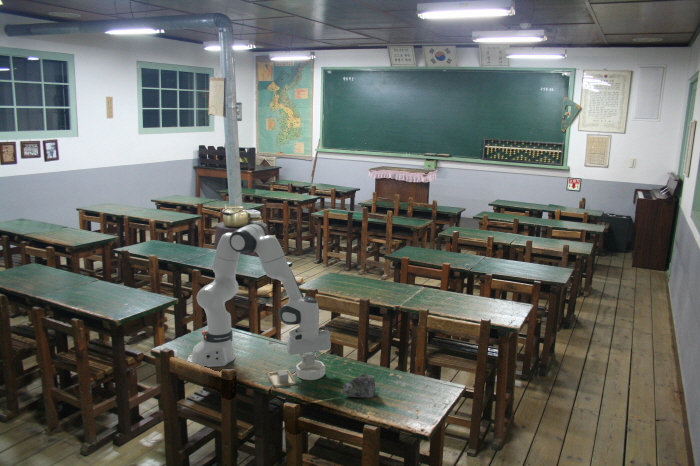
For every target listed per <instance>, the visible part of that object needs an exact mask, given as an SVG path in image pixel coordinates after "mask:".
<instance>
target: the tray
mask: <svg viewBox="0 0 700 466" xmlns="http://www.w3.org/2000/svg"><path fill="white" fill-rule="evenodd" d="M280 371H287V373H288V375H289V383H282V384H279V383H278V381H277V372H280ZM266 375H267V378H268V380H269V381H270V383H271V385H272V388H282V387H287V386H293V385H297V381H296V379H295V378H294V376H293V375H292V372H291V371H290V370H289V369H283V370H277V371H276V370H275V371H270V372H266Z"/></svg>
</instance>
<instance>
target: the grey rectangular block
mask: <svg viewBox="0 0 700 466" xmlns="http://www.w3.org/2000/svg"><path fill="white" fill-rule="evenodd" d="M279 371H280V372H277V381H278V383H279V384H282V383H289V375H288V373H287V371H282V370H279Z"/></svg>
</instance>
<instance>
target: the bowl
mask: <svg viewBox="0 0 700 466" xmlns="http://www.w3.org/2000/svg"><path fill="white" fill-rule="evenodd" d="M295 373H296V376H297V378H299V379H302V380H304V381H305V380H306V381H315V380H319V379H321V378H323V377H324V376H325V374H326V365H325V364H324V362H323V361H320V360H315V365H309V366H306V365H305V363H304V362H302V360H301V361H300V362H299V363H297V364H296V365H295Z"/></svg>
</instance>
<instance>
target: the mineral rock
mask: <svg viewBox="0 0 700 466" xmlns="http://www.w3.org/2000/svg"><path fill="white" fill-rule="evenodd" d="M342 386H343V389H342V391H341V392H342V394H343V395H344V396H347V397H351V398H375V396H376V380H375V376H374V375H370V374H369V375H368V374H367V373H361V374H359V375H357V377H355V378H352V379H351V380H350V381H347V383H345V384H343V385H342Z"/></svg>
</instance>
